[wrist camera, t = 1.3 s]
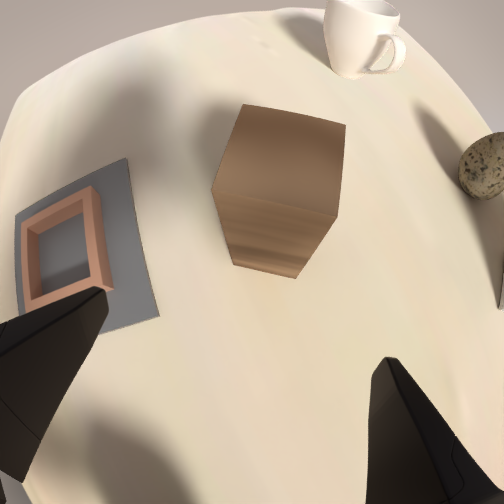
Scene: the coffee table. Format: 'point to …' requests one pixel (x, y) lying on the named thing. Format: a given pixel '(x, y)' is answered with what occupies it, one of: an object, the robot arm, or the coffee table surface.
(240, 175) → the block
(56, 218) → the holder
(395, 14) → the mug
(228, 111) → the coffee table surface
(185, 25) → the coffee table surface
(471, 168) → the decorative egg
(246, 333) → the coffee table surface
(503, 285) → the supplement box
